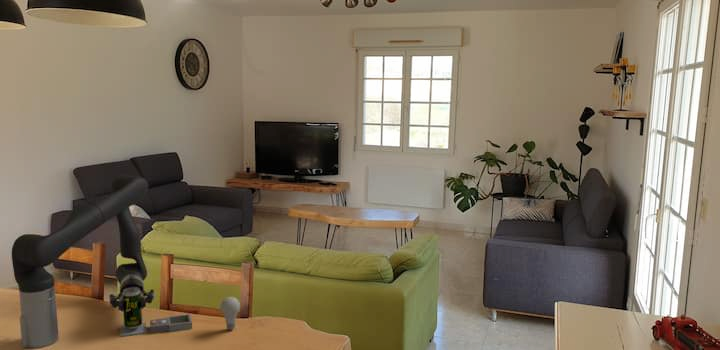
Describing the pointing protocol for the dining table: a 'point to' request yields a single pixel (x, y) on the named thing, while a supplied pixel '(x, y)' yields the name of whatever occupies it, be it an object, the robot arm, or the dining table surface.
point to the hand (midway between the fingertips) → (132, 307)
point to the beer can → (132, 307)
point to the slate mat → (133, 330)
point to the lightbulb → (230, 311)
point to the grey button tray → (166, 325)
